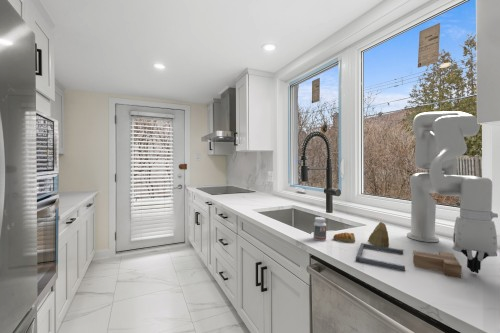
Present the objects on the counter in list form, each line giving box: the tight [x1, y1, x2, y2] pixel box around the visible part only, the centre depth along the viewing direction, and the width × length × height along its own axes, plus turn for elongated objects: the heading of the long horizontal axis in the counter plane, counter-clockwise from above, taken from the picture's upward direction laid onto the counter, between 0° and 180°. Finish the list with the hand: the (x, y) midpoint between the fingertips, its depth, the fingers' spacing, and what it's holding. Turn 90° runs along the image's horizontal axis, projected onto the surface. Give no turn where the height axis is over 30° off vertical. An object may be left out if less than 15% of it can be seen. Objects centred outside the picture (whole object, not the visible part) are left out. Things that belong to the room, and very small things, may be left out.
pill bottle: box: [313, 216, 327, 242], centre depth 114 cm, size 6×6×10 cm
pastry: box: [333, 232, 356, 244], centre depth 113 cm, size 9×7×4 cm
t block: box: [412, 250, 463, 279], centre depth 84 cm, size 12×12×4 cm
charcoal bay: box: [355, 242, 406, 272], centre depth 93 cm, size 18×15×2 cm
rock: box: [367, 221, 390, 248], centre depth 106 cm, size 11×9×10 cm
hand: (473, 270), depth 79 cm, fingers closed
